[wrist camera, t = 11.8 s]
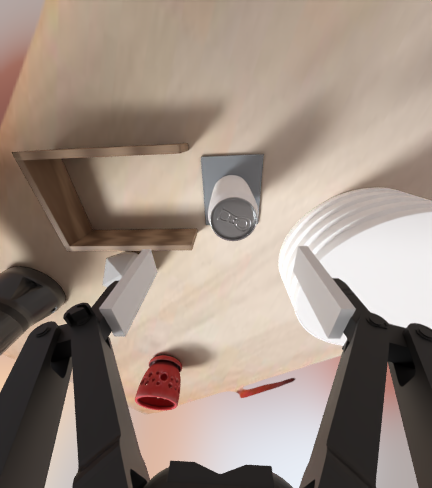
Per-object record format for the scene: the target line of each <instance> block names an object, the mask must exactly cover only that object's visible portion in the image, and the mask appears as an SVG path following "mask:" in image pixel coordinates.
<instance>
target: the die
mask: <svg viewBox="0 0 432 488" xmlns="http://www.w3.org/2000/svg"><path fill="white" fill-rule="evenodd" d="M137 256H138V254H137V253H134V252H127V251H125V252H123V253H120V254H117V255H114V256H111V257H109V258H106V265H105V272H104V279H103V286H106V287H108V286H109V285H110V284H111V283H113V282H114V281H120V279H121V278H122V277H123V275H124V274H125V273H126V271H127V270H128V269H129V267H130V266H131V264H132V263H133V262H134V260H135V259H136V258H137Z"/></svg>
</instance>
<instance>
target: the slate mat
mask: <svg viewBox="0 0 432 488" xmlns="http://www.w3.org/2000/svg"><path fill="white" fill-rule="evenodd" d="M263 157H264V154H255V155H231V156H207V157H201V165H202V178H203V191H204V204H205V217H206V225H210V223H209V220H208V209H209V204H210V200H211V196H212V192H213V189H214V186H215V184H216V183H217V182H218V181H219V180H220V179H221V178H222V177H224V176H227V175H236V176H239V177H241V178H243V179H244V180H245V181H246V182H247V184H248V186H249V188H250V190H251V192H252V194H253V197H254V199H255V201H256V203H257V206H258V213H259V204H260V192H261V181H262V169H263ZM258 215H259V214H258ZM257 224H258V220H257Z"/></svg>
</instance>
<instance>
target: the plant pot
mask: <svg viewBox="0 0 432 488" xmlns="http://www.w3.org/2000/svg"><path fill="white" fill-rule="evenodd" d="M149 367H150V368H149V369H148V370H147V371H146V373H145V375H144V377H143V379H142V381H141V383H140V385H139V388H138V391H137V394H136V397H135V402H136V403H137V404H139V405H140V406H142V407H145V408H148V409H153V410H172V409H174V408H176V407H177V405H178V400H179V394H180V373H179V372H181V370H182V365H181V363H180V362H179V361H178V360H177V359H176V358H174V357H171V356H166V355H161V356H156V357H154V358H153V359H151V360H150V362H149ZM146 384H147V385H146ZM157 397H158V398H157Z"/></svg>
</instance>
